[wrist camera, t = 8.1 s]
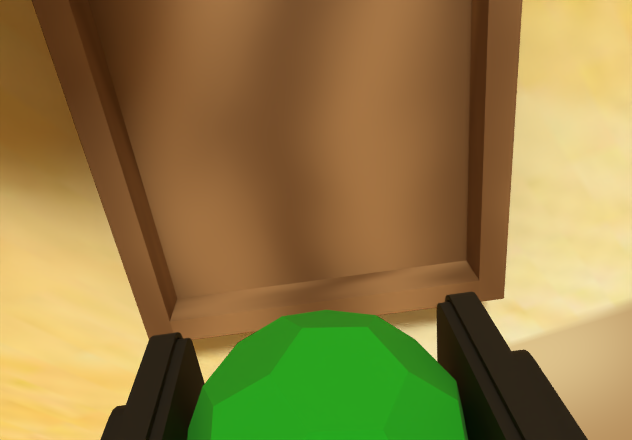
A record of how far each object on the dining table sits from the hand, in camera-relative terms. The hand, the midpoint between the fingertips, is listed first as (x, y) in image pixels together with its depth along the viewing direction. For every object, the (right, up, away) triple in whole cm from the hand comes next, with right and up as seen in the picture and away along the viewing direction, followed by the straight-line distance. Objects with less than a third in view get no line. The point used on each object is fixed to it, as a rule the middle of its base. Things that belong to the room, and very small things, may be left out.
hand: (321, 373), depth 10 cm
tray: (-1, +8, +7) cm, 11 cm away
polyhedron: (0, 0, +1) cm, 1 cm away
